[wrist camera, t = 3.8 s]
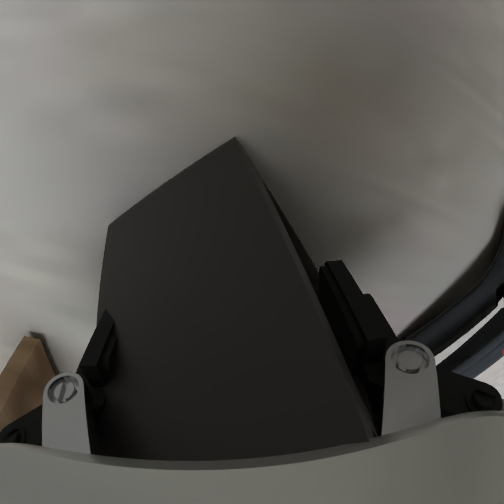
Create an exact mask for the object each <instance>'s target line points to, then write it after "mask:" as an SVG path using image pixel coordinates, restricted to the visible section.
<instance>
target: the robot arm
mask: <svg viewBox="0 0 504 504" xmlns="http://www.w3.org/2000/svg"><path fill="white" fill-rule="evenodd" d="M319 302H320V304H321V307H322V309H323V311H324V313H325V316H326V318H327V320H328V322H329V325H330V327H331V329H332V332H333V334H334V336H335V338H336V341H337V343H338V345H339V348H340V350H341V352H342V355H343V357H344V359H345V362H346V364H347V366H348V369H349V371H350V374H351V376H354V375H356V374H358V373H360V376H361V378H362V381H363V383H364V386H365V388H366V391H367V393H368V395H369V397H370V399H371V401H372V403H373V405H374V407H375V409H376V411H377V413H378V415H379V423H378V430H379V436H378V437H374V438H370V440H369V442H363V443H354V444H344V445H339V446H335V447H330V448H324V449H319V450H313V451H307V452H301V453H294V454H286V455H278V456H270V457H260V458H249V459H236V460H216V461H163V460H142V459H129V458H118V457H109V456H101V455H100V453H99V447H98V440H97V433H96V426H95V424H96V422H97V420H98V418H99V417H100V415H101V413H102V412H103V410H104V408H105V401H106V393H105V391H104V390H103V388H102V387H104V386H106V385H107V380H109V379H112V378H113V368H114V359H115V350H116V341H117V336H116V334H115V333H114V332H113V327H114V321H115V320H114V319H113V318H112V316H111V315H110V314H109V313H108V311H107V310H106V309H105V311H104V313H103V315H102V317H101V319H100V321H99V323H98V325H97V327H96V329H95V331H94V333H93V335H92V338H91V340H90V342H89V344H88V346H87V348H86V350H85V353H84V355H83V357H82V359H81V362H80V364H79V367H78V369H77V371H76V373H73V372H65V373H61V374H59V375H57V376H55V377H54V378H52V379H51V380H50V381H49V382H48V383H47V385H46V387H45V388H44V393H43V404H41V405H40V406H38V407H36V408H35V409H33V410H31V411H30V412H28V413H27V414H25V415H23V416H22V417H20V418H18V419H17V420H15V421H13V422H12V423H10V424H8V425H7V426H6V427H4V428H3V429H2V431H1V432H0V504H504V399H502V398H501V395H500V394H499V392H498V391H497V390H496V389H495V388H494V387H493V386H491V385H489V384H487V383H484V382H481V381H478V380H475V379H472V378H469V377H466V376H463V375H460V374H457V373H454V372H451V371H448V370H446V369H443V368H440V367H437V366H436V364H435V358H434V355H433V353H432V352H431V350H430V349H429V348H428V347H426V346H425V345H424V344H421V343H419V342H416V341H410V340H408V341H400V342H399V340H398V339H397V337H396V335H395V333H394V332H393V330H392V328H391V327H390V325H389V323H388V322H387V320H386V318H385V317H384V315H383V314H382V312H381V310H380V309H379V307H378V305H377V304H376V302H375V301H374V299H373V297H372V296H371V295H370V294H363V293H362V292H361V290H360V289H359V287H358V285H357V284H356V282H355V280H354V279H353V277H352V275H351V274H350V272H349V271H348V269H347V267H346V266H345V264H344V263H343V261H342V260H337V261H329V262H325V265H324V266H323V267H320V269H319Z"/></svg>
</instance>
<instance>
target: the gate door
mask: <svg viewBox="0 0 504 504" xmlns="http://www.w3.org/2000/svg"><path fill="white" fill-rule="evenodd" d="M55 376H56V375H55V373H54V370H53V368H52V366H51V364H50V361H49V359H48V357H47V354H46V352H45V350H44V347H43V345H42V342H41V340H40V339H36V338H31V337H26V336H24V337H23V339H22V341H21V342H20V344H19V345H18V347H17V348H16V350H15V352H14V353H13V355H12V356H11V358H10V360H9V361H8V363H7V365H6V366H5V368H4V370H3V371H2V373H1V375H0V432H1V431H2V429H3V428H4V427H6V426H7V425H8V424H10V423H12V422H13V421H15V420H17V419H18V418H20V417H22V416H23V415H25V414H27V413H28V412H30V411H31V410H33V409H35V408H36V407H38V406H40V405H41V404H43V393H44V388H45V387H46V385H47V383H48V382H49V381H50V380H51V379H52V378H54V377H55Z"/></svg>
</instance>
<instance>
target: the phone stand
mask: <svg viewBox="0 0 504 504" xmlns="http://www.w3.org/2000/svg"><path fill="white" fill-rule="evenodd" d="M105 309H106V310H107V311H108V313H109V314H110V315H111V316H112V318H113V319H114V320H115V321H114V327H113V332H114V333H115V334H116V336H117V341H116V350H115V359H114V368H113V378H112V379H109V380H107V385H106V386H104V387H102V388H103V390H104V391H105V393H106V401H105V408H104V410H103V412H102V413H101V415H100V417H99V418H98V420H97V422H96V424H95V426H96V433H97V440H98V447H99V453H100V455H101V456H109V457H118V458H129V459H142V460H163V461H216V460H236V459H249V458H260V457H270V456H278V455H286V454H294V453H301V452H307V451H313V450H319V449H324V448H330V447H335V446H339V445H344V444H354V443H363V442H369V440H370V438H374V437H378V436H379V430H378V423H379V415H378V413H377V411H376V409H375V407H374V405H373V403H372V401H371V399H370V397H369V395H368V393H367V391H366V388H365V386H364V383H363V381H362V378H361V376H360V373H358V374H356V375H354V376H351V374H350V371H349V369H348V366H347V364H346V362H345V359H344V357H343V355H342V352H341V350H340V348H339V345H338V343H337V341H336V338H335V336H334V334H333V332H332V329H331V327H330V325H329V322H328V320H327V318H326V316H325V313H324V311H323V309H322V307H321V304H320V302H319V272H318V270H317V269H316V267H315V265H314V264H313V262H312V260H311V259H310V257H309V255H308V253H307V252H306V250H305V248H304V247H303V245H302V243H301V242H300V240H299V238H298V237H297V235H296V234H295V232H294V230H293V228H292V227H291V225H290V223H289V222H288V220H287V218H286V217H285V215H284V213H283V212H282V210H281V209H280V207H279V205H278V204H277V202H276V200H275V199H274V197H273V196H272V194H271V192H270V191H269V189H268V188H267V186H266V184H265V183H264V181H263V180H262V178H261V176H260V175H259V173H258V172H257V170H256V169H255V167H254V165H253V164H252V162H251V161H250V159H249V158H248V156H247V155H246V153H245V151H244V150H243V148H242V147H241V145H240V144H239V142H238V141H237V139H236V138H235V137H234V138H233V139H231V140H230V141H228V142H226V143H225V144H223V145H222V146H220V147H218V148H217V149H215V150H214V151H212V152H211V153H209V154H208V155H206V156H204V157H203V158H201V159H200V160H198V161H197V162H195V163H194V164H192V165H191V166H189V167H188V168H186V169H185V170H183V171H182V172H181V173H179V174H178V175H176V176H175V177H173V178H172V179H170V180H169V181H168V182H166V183H165V184H163V185H162V186H160V187H159V188H158V189H156V190H155V191H153V192H152V193H151V194H149V195H148V196H147V197H145V198H144V199H143V200H141V201H140V202H138V203H137V204H136V205H134V206H133V207H132V208H130V209H129V210H128V211H126V212H125V213H124V214H123V215H121V216H120V217H119V218H117V219H116V220H115V221H114V222H112V223H111V224H110V225H109V226H108V232H107V238H106V245H105V251H104V258H103V266H102V274H101V282H100V292H99V302H98V314H97V325H98V323H99V321H100V319H101V317H102V315H103V313H104V311H105Z"/></svg>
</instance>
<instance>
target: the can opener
mask: <svg viewBox="0 0 504 504" xmlns="http://www.w3.org/2000/svg"><path fill="white" fill-rule="evenodd" d="M502 297H503V298H504V232H503V236H502V239H501V243H500V246H499V249H498V251H497V254H496V256H495V258H494V260H493V262H492V264H491V265H490V267H489V269H488V270H487V272H486V273H485V275H484V276H483V277H482V279H481V280H480V281H479V282H478V283H477V284H475V285H474V287H473V288H471V289H470V290H469V291H468V292H467V293H466V294H465V295H463V296H462V297H461V298H460V299H459V300H457V301H456V302H455V303H454V304H452V305H451V306H450V307H448V308H447V309H446V310H444V311H443V312H442V313H440V314H439V315H438V316H436V317H435V318H434V319H432V320H431V321H429V322H428V323H427V324H425V325H424V326H422V327H421V328H419V329H418V330H416V331H415V332H413V333H412V334H411V335H409V336H408V337H406V338H405V339H404V340H403V341H408V340H410V341H416V342H419V343H421V344H424V345H425V346H426V347H428V348H429V349H430V350H431V352H432V353H433V355H434V356H436V355H437V354H439V353H441V352H442V351H443V350H445V349H446V348H447V347H449V346H450V345H451V344H453V343H454V342H455V341H457V340H458V339H459V338H460V337H462V336H463V335H464V334H466V333H467V332H468V331H470V330H471V329H472V328H473V327H474V326H476V325H477V324H478V323H479V322H480V321H482V320H483V319H484V318H485V317H486V316H487V315H489V314H490V313H491V312H492V311H493V310H494V309H495V308H496V307H497V306H498V302H499V301H500V300H501V299H502ZM503 356H504V308H501V309H500V310H499V311H498V312H497V313H496V314H495V315H494V316H493V317H492V318H491V319H490V320H489V321H488V322H487V323H486V324H485V325H484V326H483V327H482V328H481V329H479V330H478V331H477V332H476V333H475V334H474V335H473V336H472V337H471V338H469V339H468V340H467V341H466V342H465V343H464V344H463V345H461V346H460V347H459V348H458V349H457V350H456V351H454V352H453V353H452V354H451V355H449V356H448V357H447V358H446V359H444V360H443V361H442V362H441V363H439V364H438V365H437V367H440V368H443V369H446V370H448V371H451V372H454V373H457V374H460V375H463V376H466V377H469V378H472V379H473V378H475V377H476V376H478V375H479V374H480V373H482V372H483V371H485V370H486V369H487V368H489V367H490V366H491V365H493V364H494V363H495V362H496V361H498V360H499V359H500V358H502V357H503Z"/></svg>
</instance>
